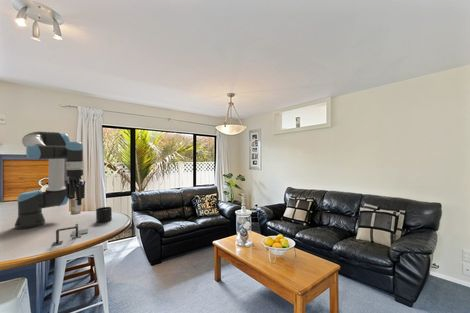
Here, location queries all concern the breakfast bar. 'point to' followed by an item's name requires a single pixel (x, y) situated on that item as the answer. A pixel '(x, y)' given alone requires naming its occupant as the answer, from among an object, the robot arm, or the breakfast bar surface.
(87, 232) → the coaster
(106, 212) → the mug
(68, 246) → the breakfast bar surface
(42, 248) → the breakfast bar surface
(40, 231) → the breakfast bar surface
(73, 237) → the wire
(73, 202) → the beech peg
